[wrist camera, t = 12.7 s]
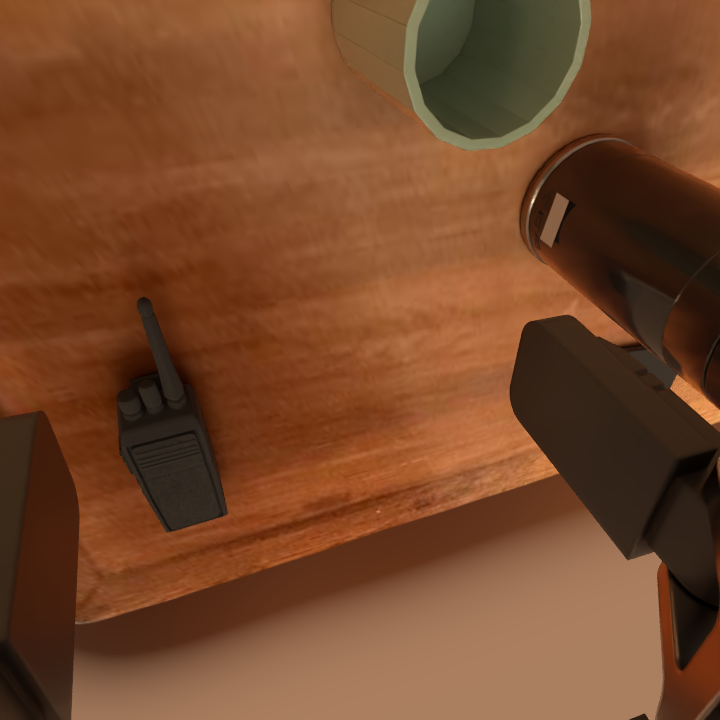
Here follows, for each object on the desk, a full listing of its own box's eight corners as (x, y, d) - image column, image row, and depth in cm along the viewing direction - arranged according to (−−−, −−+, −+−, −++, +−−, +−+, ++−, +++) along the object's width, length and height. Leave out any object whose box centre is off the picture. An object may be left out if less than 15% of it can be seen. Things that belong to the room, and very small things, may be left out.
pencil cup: (488, -86, 30) (614, -78, 23) (466, 89, 35) (564, 142, 28) (331, -90, 28) (413, -83, 21) (331, 97, 33) (398, 157, 26)
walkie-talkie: (136, 528, 45) (27, 321, 31) (188, 466, 49) (113, 258, 35) (204, 562, 43) (120, 356, 29) (253, 494, 47) (199, 285, 33)
